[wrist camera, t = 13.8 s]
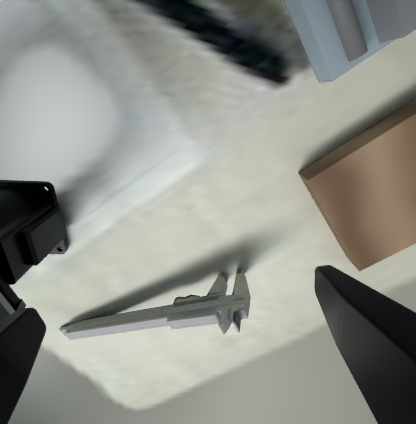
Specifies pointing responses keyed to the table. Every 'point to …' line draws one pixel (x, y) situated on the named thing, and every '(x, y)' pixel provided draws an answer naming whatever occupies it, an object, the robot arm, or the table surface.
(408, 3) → the vise
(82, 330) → the caliper
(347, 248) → the walnut board
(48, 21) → the table surface
